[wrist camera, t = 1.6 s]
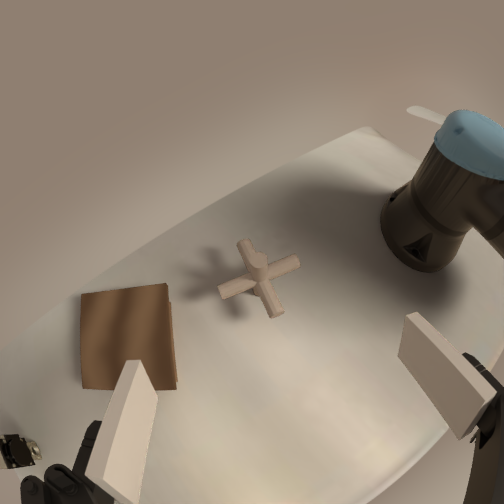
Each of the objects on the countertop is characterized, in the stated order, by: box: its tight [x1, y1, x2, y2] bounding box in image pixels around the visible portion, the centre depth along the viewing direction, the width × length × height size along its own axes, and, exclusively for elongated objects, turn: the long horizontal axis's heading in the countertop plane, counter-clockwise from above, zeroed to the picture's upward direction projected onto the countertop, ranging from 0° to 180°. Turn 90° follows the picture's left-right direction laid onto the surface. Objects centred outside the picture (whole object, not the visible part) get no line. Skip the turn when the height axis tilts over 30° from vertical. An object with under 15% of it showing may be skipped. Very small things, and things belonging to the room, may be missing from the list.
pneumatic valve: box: [0, 434, 42, 469], centre depth 20 cm, size 6×12×12 cm, turn 118°
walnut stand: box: [80, 283, 178, 391], centre depth 32 cm, size 13×13×5 cm
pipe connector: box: [217, 239, 301, 318], centre depth 33 cm, size 10×10×10 cm
